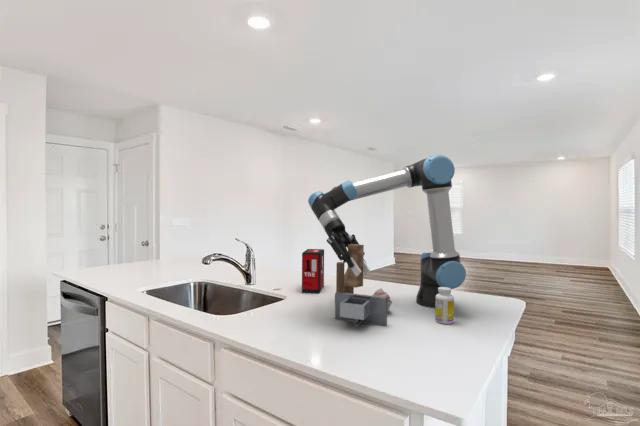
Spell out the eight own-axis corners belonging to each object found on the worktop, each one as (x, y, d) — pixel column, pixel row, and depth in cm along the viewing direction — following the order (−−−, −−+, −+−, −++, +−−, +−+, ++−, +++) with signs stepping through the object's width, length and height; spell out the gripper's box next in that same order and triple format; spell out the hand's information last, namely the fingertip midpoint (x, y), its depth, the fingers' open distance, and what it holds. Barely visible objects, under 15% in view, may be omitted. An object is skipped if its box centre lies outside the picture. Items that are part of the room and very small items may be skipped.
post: (355, 284, 135) (355, 243, 135) (363, 286, 132) (363, 244, 132) (347, 285, 133) (348, 244, 132) (355, 287, 130) (356, 245, 129)
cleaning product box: (319, 293, 180) (319, 253, 179) (301, 293, 181) (302, 253, 181) (323, 286, 196) (324, 249, 196) (307, 285, 198) (307, 248, 197)
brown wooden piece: (353, 298, 171) (354, 260, 171) (341, 303, 162) (341, 263, 162) (347, 297, 173) (347, 259, 173) (334, 302, 165) (334, 262, 164)
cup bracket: (387, 324, 135) (387, 297, 135) (379, 333, 125) (379, 304, 125) (336, 317, 143) (337, 291, 143) (325, 325, 133) (326, 298, 133)
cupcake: (396, 312, 150) (396, 288, 150) (384, 317, 143) (384, 292, 143) (377, 307, 156) (377, 284, 156) (364, 312, 149) (364, 288, 149)
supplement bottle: (453, 320, 140) (454, 287, 140) (453, 325, 134) (454, 290, 134) (435, 318, 143) (435, 285, 142) (434, 323, 136) (435, 289, 136)
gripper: (343, 230, 149) (373, 276, 137) (311, 231, 138) (340, 282, 126) (352, 217, 145) (384, 264, 133) (320, 218, 134) (352, 269, 122)
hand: (363, 273), depth 130 cm, fingers closed on post, 4 cm apart
